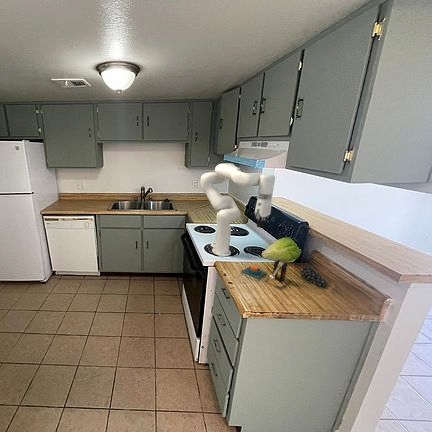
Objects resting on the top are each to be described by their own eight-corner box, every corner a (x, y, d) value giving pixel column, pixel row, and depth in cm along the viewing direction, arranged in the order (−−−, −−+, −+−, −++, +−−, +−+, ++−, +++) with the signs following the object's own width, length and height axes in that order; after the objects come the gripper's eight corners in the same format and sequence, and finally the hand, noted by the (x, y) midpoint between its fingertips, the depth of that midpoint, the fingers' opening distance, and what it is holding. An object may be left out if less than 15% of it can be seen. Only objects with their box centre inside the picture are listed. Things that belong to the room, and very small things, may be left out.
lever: (273, 283, 127) (273, 279, 125) (267, 280, 129) (267, 276, 127) (285, 266, 132) (284, 262, 130) (278, 264, 134) (278, 260, 133)
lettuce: (269, 270, 154) (258, 261, 170) (308, 260, 152) (294, 251, 168) (264, 249, 152) (254, 241, 167) (304, 238, 150) (290, 231, 165)
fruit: (333, 275, 123) (308, 261, 137) (319, 281, 123) (296, 267, 137) (333, 288, 126) (309, 274, 140) (320, 294, 126) (297, 279, 140)
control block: (240, 274, 142) (241, 268, 141) (249, 269, 148) (250, 263, 147) (257, 281, 134) (258, 275, 133) (266, 275, 140) (267, 269, 139)
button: (249, 269, 140) (249, 266, 140) (252, 267, 143) (253, 264, 142) (255, 272, 137) (256, 269, 137) (259, 269, 140) (259, 267, 139)
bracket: (281, 288, 128) (285, 268, 124) (264, 281, 134) (267, 262, 131) (290, 281, 135) (294, 262, 132) (274, 275, 142) (277, 256, 138)
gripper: (264, 199, 129) (260, 231, 134) (277, 196, 138) (272, 226, 143) (251, 197, 135) (247, 228, 140) (264, 194, 144) (260, 223, 149)
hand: (260, 227), depth 141 cm, fingers closed
